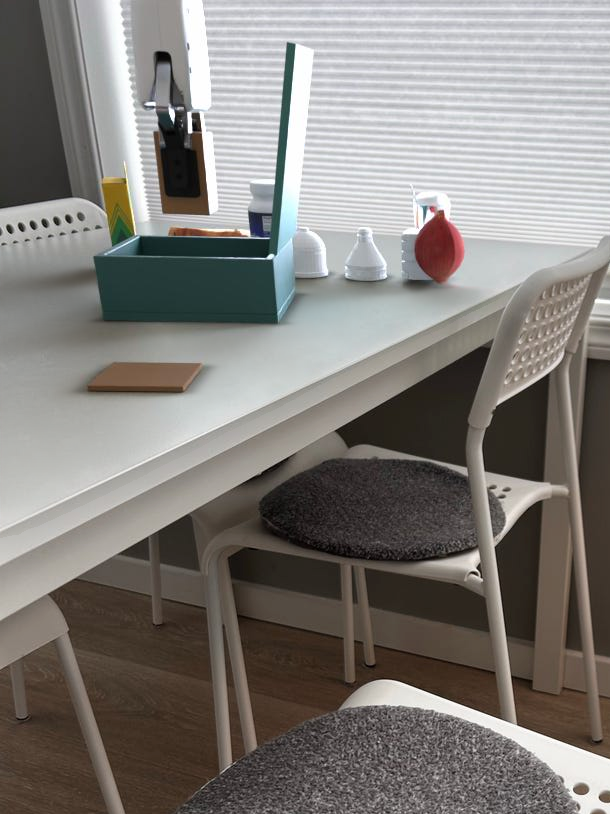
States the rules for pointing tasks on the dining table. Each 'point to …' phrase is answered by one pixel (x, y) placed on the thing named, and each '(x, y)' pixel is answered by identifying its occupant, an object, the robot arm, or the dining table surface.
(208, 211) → the carton
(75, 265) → the dining table surface
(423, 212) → the milkshake
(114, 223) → the crayon box
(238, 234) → the bread slice
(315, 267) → the container set
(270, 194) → the pill bottle
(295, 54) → the lunchbox lid
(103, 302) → the box
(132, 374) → the mat
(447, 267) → the onion
